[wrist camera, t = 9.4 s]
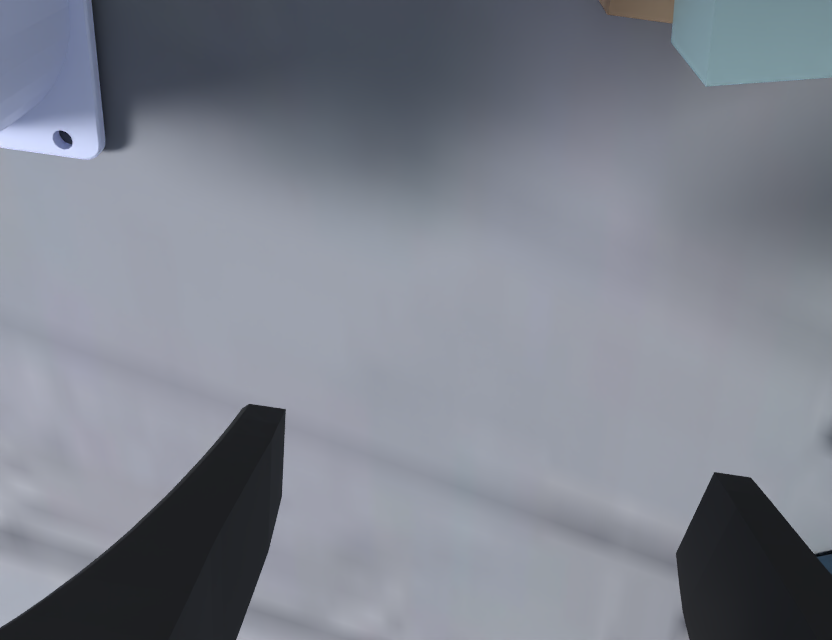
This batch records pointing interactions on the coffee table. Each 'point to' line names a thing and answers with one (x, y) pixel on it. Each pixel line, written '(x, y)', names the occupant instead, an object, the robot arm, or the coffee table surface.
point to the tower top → (754, 39)
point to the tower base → (641, 9)
